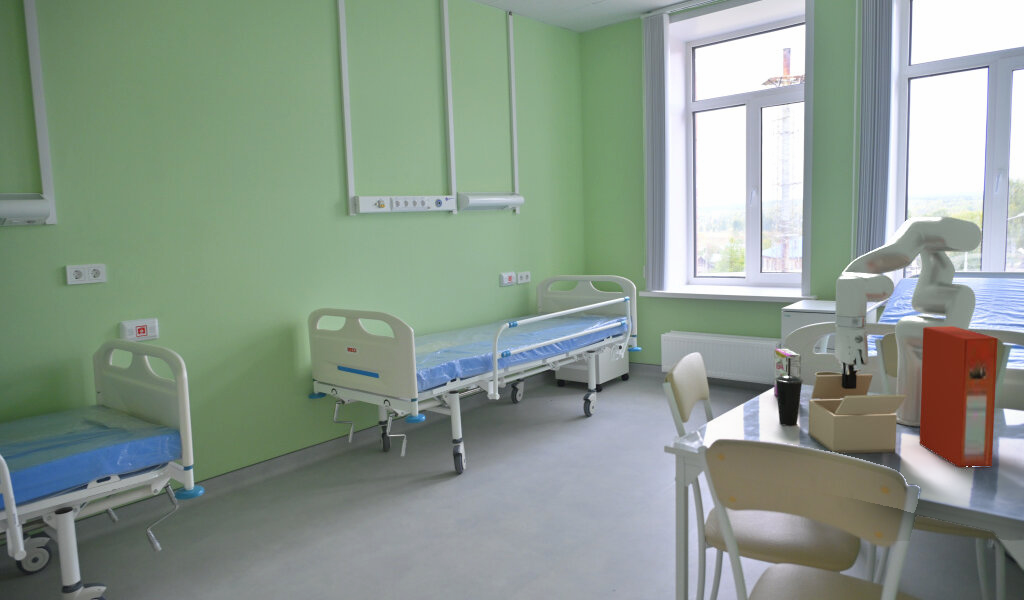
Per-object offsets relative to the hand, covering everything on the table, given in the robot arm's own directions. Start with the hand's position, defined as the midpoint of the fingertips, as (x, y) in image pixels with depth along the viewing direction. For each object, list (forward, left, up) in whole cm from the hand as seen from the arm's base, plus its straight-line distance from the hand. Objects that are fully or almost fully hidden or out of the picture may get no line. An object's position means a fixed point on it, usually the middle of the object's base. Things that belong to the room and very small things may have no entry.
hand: (848, 387), depth 183 cm
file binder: (-21, +13, -15) cm, 29 cm away
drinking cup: (+10, -16, -15) cm, 24 cm away
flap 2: (0, +12, -1) cm, 12 cm away
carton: (0, +2, -15) cm, 15 cm away
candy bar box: (+1, -43, -15) cm, 46 cm away
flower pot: (-13, -41, -15) cm, 46 cm away
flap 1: (0, -4, -1) cm, 4 cm away
